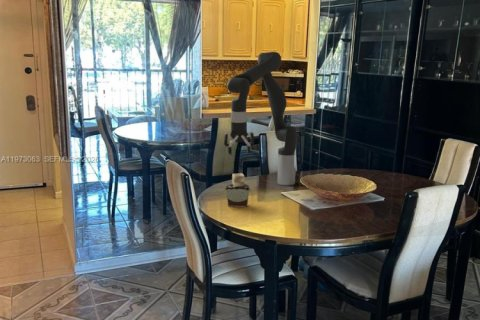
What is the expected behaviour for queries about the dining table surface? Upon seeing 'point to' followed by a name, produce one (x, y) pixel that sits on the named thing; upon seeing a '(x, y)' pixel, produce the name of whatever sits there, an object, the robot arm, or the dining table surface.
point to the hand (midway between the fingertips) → (239, 154)
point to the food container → (237, 195)
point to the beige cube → (238, 180)
